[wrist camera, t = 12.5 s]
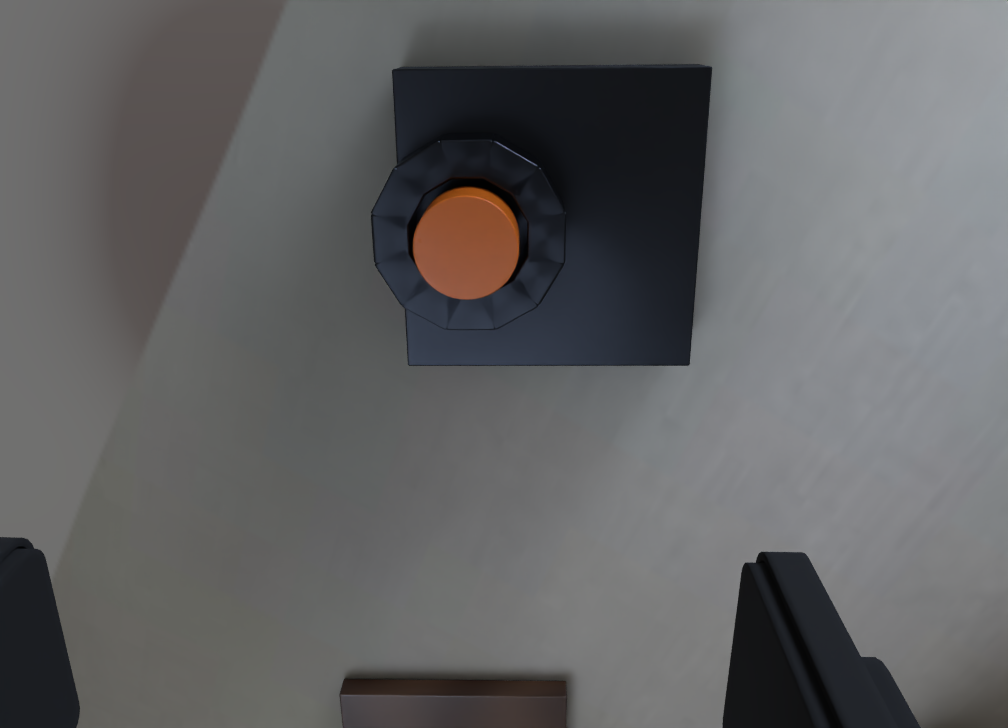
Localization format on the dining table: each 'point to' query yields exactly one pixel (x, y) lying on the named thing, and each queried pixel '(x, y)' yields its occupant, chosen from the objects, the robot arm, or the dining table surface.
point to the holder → (453, 704)
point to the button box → (554, 209)
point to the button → (467, 243)
